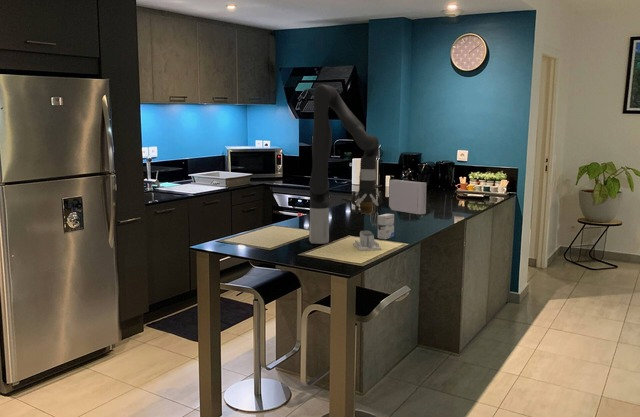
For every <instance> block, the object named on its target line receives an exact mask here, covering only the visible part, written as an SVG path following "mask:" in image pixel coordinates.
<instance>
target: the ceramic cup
mask: <svg viewBox="0 0 640 417" xmlns="http://www.w3.org/2000/svg"><path fill="white" fill-rule="evenodd" d="M357 200H358V199H355V202H357ZM361 200H362V199H361ZM374 205H375V204H374V202H373V201H372V200H371V201H362V202H361V203H360V204H359V210H360V214H361V215H362V214H365V215H364V216H371V215H372V214H373V210H374ZM370 214H371V215H370Z"/></svg>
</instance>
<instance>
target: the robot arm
mask: <svg viewBox="0 0 640 417" xmlns="http://www.w3.org/2000/svg"><path fill="white" fill-rule="evenodd" d="M329 107H330V109H331V110H333V111H334V112H335V114H336V115H337V116H338V118H339V120H340V123H341V124H342V126H343V127H344V128H345V129H346V130H347V132H348V133H349V134H350V135H351V136H352V138H353V140H354V141H355V143H356V145H357V146H358V148H360V150H362V151H363V153H364V154H363V156H361V158H360V166H359V167H360V168H359V176H358V179H359V182H358V191H355V190H352V191H351V200H350V203H351V205H353V206H354V212H355V213H356V215H357V214H358V215H359V214H360V213H359V212H360V211H359V210H360V208H359V207H360V203H361V202H362V201H371V200H372V201H373V202H374V204H373V214H374V215H377V213H379V206H382V205H383V192H382V191H381V190H380V191H379V190H378V191H376V183H377V171H376V167H377V162H376V161H377V157H378V154H379V148H380V144H379V142H380V141H379V139H378V137H377V136H376V135H373V134H368V133H367V132H366V130H365V129H366V128H365V125H364V124H363V122H361V121H360V120H359V119H358V118H357V116H356V115H355V114H354V113H353V112H352V110H350V108H349V107H348V105H347V104H346V103H345V102H344V100H343V99H342V97H341V95H340V94H339V92H338V90H337V89H336V88H335V87H334V86H332V85H328V84H318V85H317V86H316V87H315V89H314V92H313V128H312V139H311V140H312V142H311V157H312V158H311V159H312V166H311V175H310V180H309V223H308V224H309V225H308V227H309V228H308V229H309V230H308V232H309V235H308V236H309V237H308V238H309V243H311V244H315V245H318V244H319V245H320V244H321V245H322V244H327V243H328V244H329V242H330V206H329V205H330V181H329V173H328V172H329V170H328V168H329V162H330V157H331V151H332V142H333V131H332V127H331V123H330V120H329ZM376 195H377V198H378V199H376V198H375V197H376ZM357 196H359V197H358V198H357V199H356V197H357ZM361 199H362V200H361ZM355 200H357V201H355ZM377 200H378V201H377Z"/></svg>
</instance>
